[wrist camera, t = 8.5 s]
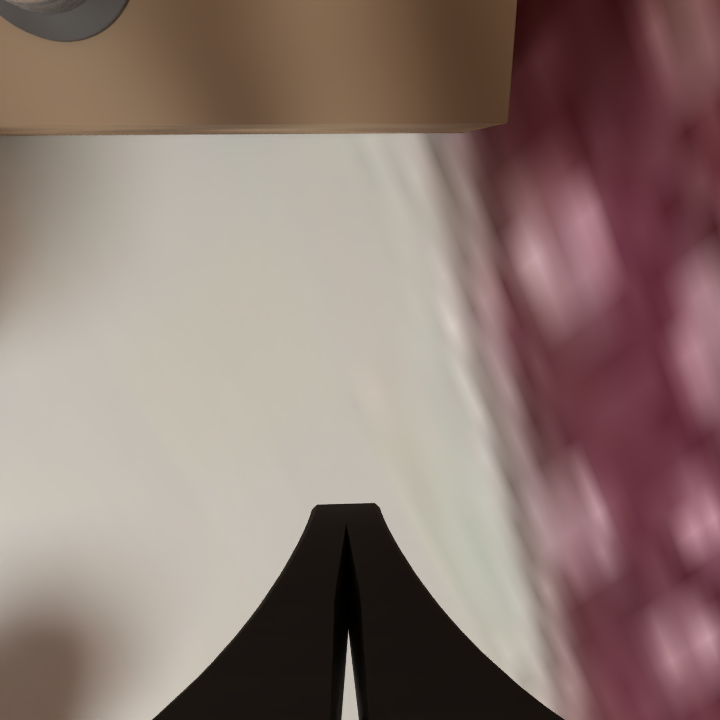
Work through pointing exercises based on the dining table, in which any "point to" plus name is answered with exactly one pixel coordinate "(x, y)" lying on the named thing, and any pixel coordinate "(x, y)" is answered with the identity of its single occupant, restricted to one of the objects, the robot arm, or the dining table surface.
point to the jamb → (256, 67)
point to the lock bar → (47, 5)
